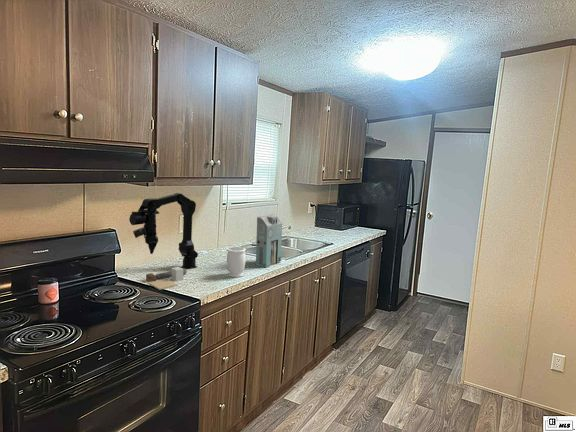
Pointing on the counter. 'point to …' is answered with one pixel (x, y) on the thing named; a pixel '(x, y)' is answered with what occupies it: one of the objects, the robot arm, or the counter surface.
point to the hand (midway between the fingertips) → (150, 251)
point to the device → (268, 240)
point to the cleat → (150, 277)
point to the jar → (236, 261)
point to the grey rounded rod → (167, 274)
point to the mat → (162, 284)
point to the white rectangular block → (177, 273)
